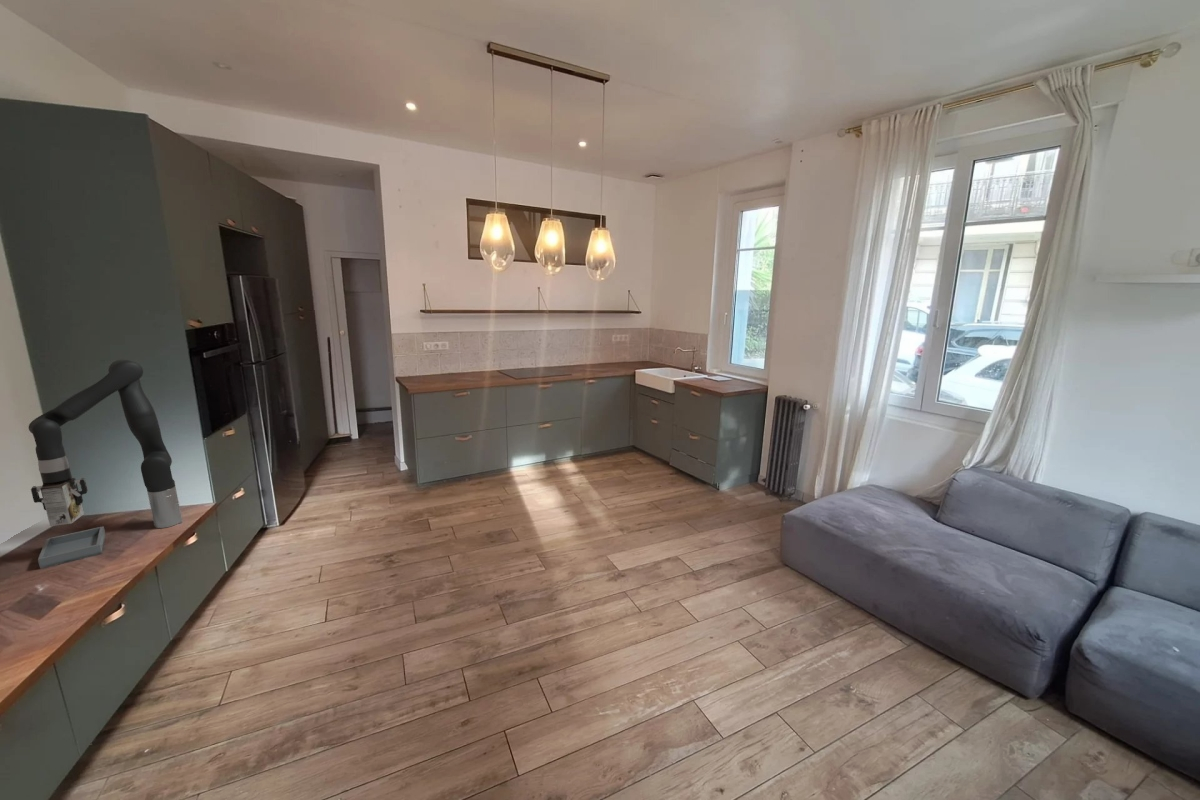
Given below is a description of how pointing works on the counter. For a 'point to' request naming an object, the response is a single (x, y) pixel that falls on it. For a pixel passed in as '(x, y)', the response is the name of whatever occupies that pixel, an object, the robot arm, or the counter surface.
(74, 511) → the coffee box
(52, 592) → the counter surface
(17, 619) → the counter surface
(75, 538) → the box
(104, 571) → the counter surface
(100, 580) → the counter surface
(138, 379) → the robot arm
